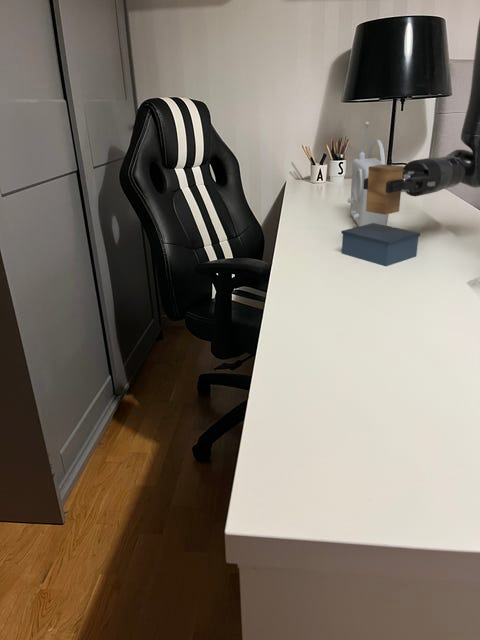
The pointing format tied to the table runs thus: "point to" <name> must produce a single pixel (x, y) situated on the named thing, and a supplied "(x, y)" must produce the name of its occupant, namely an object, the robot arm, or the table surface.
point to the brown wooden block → (383, 189)
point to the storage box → (380, 243)
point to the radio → (357, 186)
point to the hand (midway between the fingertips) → (376, 185)
